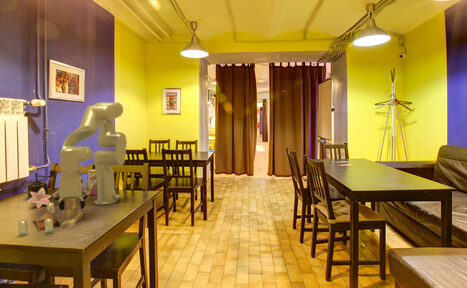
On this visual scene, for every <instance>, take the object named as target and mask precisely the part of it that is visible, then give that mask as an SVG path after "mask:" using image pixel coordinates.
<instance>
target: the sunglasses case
mask: <svg viewBox="0 0 467 288" xmlns="http://www.w3.org/2000/svg"><path fill="white" fill-rule="evenodd" d="M48 218H53V229H55V228H59V227H60V222H59V220H58V219H57V218H56V217H55V216H54V215H53V214H51V213H50V212H49V211H48V212H47V211H46V212H45V213H44V214H43V215H41V216H38V218H35V219H34V220H32V223H33V224H34V225H35V227H36V228H37V232H42V231H45V221H44V220H45V219H48Z"/></svg>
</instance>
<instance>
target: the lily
mask: <svg viewBox="0 0 467 288" xmlns="http://www.w3.org/2000/svg"><path fill="white" fill-rule="evenodd" d="M30 193H31V195H32V196H33V197H32V198H30V199H29V200H27V201H26V202H27V203H35V206H36V207H37V209H40V208H41V207H42V205H46V206H47V203H51V201H50V200H49V198H51V197H52V194H48V195H45V191H44V188H41V189H40V190H39V191H38V193H35V192H30Z"/></svg>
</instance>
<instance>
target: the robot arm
mask: <svg viewBox="0 0 467 288" xmlns="http://www.w3.org/2000/svg"><path fill="white" fill-rule="evenodd" d="M123 113H124V106H123V105H122V104H121V103H120V102H116V101H115V102H106V101H105V102H96V103H93V105H92V104H91V105H89V106H87V107H86V109H85V111H84V114H83V116H82V119H81V122H80V125H79V126H78V128H76V129H75V130H73V132H71V133H70V134H69V135H68V136H67V137H66V138H65V140H64V141H63V144H62V147H61V149H60V150H59V160H60V161H59V162H60V174H61V176H60V177H59V182H58V189H57V190H56V191H54V192H53V193H51V197H53V198H54V199H55V201H57V203H58V208H59V210H60V212H61V211H64V210H65V207H66V206H65V201H64V199H67V198H71V197H77V198H79V200H80V201H79V203H80V205H79V206H80V210H83V209H84V208H85V207H86V199H87V198H88V197H89V196H90V195H89V194H90V193H91V191H89V190H88V188H85V185H84V180H83V176H82V175H81V174H83V170H80V162H87V161H89V160H91V159H92V158H93V163H94V167H95V170H96V179H97V195H96V196H97V197H96V198H97V199H95V200H94V204H95V205H99V206H102V205H111V204H115V203H116V202H118V201H119V199H123V195H122V194H117V192H116V191H115V173H114V170H113V168H112V167H114V166H115V167H120V166H123V165H124V164H125V161H126V152H127V141H128V140H127V136H126V135H125V133H123V132H121V131H120V132H119V131H118V132H117V131H115V130H116V125H115V122H114V120H115V119H118V118H119V117H121V116H122V115H123ZM97 132H98V141H97V142H98V146H99V147H100V148H104V149H100V150H97V151H96V152H94V153H93V150H92V149H91V148H90V147H88V146H80V145H79V146H77V144H78V143H79V142H81V141H83V140H85V139H88V138H90V137H93V136H95V135H96V133H97ZM105 148H106V149H105ZM84 194H85V195H84Z"/></svg>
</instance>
